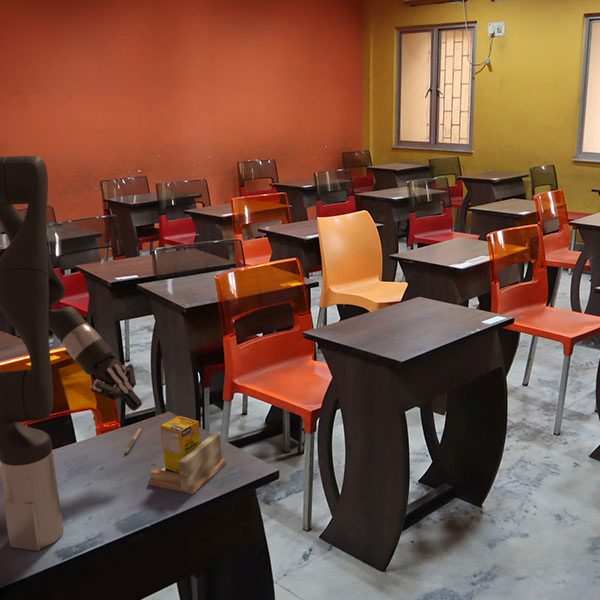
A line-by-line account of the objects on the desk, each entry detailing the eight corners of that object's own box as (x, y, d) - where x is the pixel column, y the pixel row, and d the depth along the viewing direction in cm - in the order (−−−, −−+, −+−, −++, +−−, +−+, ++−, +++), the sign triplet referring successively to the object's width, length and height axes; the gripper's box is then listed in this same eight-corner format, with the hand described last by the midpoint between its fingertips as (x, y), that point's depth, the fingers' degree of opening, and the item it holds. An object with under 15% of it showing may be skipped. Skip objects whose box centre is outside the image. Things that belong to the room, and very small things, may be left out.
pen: (144, 429, 188) (143, 424, 188) (128, 456, 175) (127, 451, 174) (140, 429, 188) (139, 424, 188) (123, 456, 175) (123, 451, 175)
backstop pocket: (192, 494, 157) (189, 463, 155) (148, 484, 162) (145, 454, 160) (226, 463, 169) (224, 434, 167) (184, 455, 174) (182, 427, 172)
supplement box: (203, 466, 166) (199, 420, 163) (184, 478, 161) (180, 431, 158) (183, 459, 169) (179, 414, 166) (164, 471, 165) (160, 425, 162)
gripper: (75, 348, 160) (128, 410, 159) (115, 329, 172) (164, 387, 170) (59, 368, 164) (110, 429, 162) (99, 349, 176) (147, 405, 174)
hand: (138, 407), depth 166 cm, fingers closed
